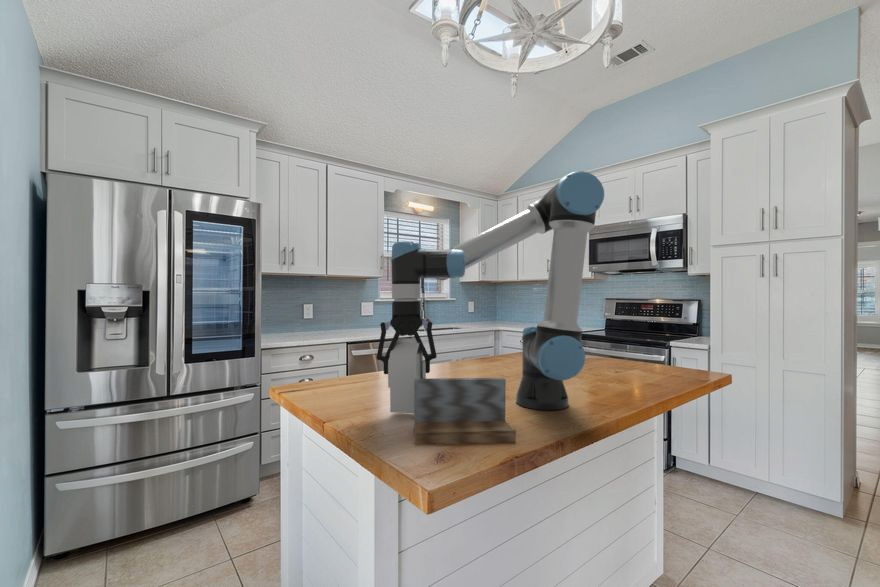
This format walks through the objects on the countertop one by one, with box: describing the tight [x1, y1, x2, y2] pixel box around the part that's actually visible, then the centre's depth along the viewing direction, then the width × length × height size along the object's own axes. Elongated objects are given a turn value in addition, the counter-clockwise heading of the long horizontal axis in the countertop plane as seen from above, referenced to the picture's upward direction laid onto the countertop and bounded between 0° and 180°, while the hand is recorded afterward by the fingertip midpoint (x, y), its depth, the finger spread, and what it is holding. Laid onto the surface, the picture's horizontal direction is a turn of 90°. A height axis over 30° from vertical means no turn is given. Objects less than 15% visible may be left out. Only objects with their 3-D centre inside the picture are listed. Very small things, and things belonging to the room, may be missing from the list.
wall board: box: [413, 377, 517, 446], centre depth 95 cm, size 22×11×12 cm, turn 96°
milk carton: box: [389, 337, 424, 414], centre depth 109 cm, size 7×7×19 cm
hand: (407, 385), depth 109 cm, fingers closed on milk carton, 8 cm apart
